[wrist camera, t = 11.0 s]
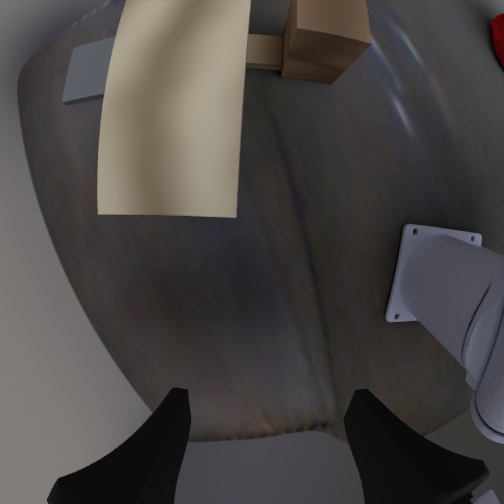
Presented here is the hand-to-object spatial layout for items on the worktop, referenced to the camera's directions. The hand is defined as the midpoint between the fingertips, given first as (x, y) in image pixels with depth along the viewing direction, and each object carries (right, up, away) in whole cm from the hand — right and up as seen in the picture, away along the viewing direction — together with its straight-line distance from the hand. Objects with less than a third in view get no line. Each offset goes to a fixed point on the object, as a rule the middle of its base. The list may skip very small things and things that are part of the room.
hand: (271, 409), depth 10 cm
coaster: (-13, +21, +5) cm, 25 cm away
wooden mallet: (-3, +20, +5) cm, 21 cm away
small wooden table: (-5, +17, +5) cm, 19 cm away
